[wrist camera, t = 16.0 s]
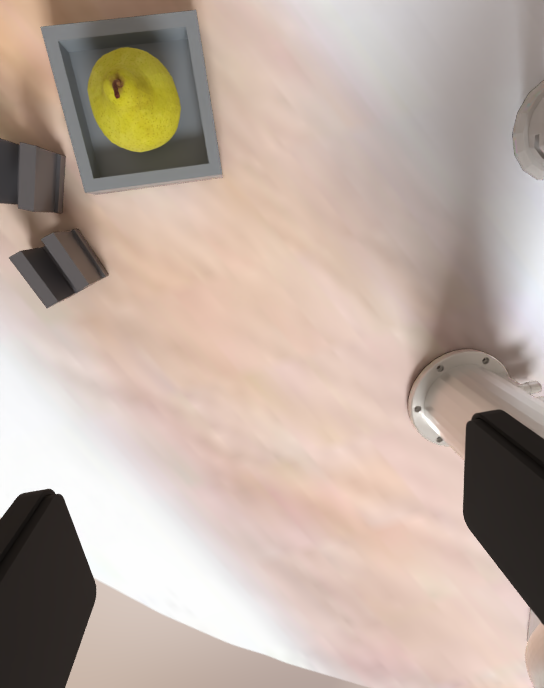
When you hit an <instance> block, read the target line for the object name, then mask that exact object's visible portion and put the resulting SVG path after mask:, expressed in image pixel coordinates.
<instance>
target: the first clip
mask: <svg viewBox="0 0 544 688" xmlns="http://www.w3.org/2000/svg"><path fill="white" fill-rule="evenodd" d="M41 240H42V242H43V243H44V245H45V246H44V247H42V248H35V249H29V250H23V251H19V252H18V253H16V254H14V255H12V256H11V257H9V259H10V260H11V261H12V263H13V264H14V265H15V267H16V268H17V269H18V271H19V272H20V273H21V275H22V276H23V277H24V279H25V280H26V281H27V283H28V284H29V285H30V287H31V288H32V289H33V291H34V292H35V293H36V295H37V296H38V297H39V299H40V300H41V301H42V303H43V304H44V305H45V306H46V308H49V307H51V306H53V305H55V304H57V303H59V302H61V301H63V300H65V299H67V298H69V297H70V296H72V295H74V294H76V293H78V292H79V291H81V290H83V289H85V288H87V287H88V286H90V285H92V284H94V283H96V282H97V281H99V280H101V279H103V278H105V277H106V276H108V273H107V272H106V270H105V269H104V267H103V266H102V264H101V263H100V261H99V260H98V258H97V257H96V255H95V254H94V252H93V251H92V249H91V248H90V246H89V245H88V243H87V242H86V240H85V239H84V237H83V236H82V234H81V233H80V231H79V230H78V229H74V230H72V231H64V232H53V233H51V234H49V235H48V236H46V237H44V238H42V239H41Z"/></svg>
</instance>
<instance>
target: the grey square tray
mask: <svg viewBox="0 0 544 688" xmlns="http://www.w3.org/2000/svg"><path fill="white" fill-rule="evenodd" d="M41 31H42V34H43V38H44V42H45V45H46V49H47V53H48V57H49V60H50V64H51V68H52V72H53V75H54V79H55V83H56V86H57V90H58V94H59V98H60V101H61V105H62V109H63V112H64V116H65V120H66V124H67V127H68V131H69V135H70V138H71V142H72V146H73V150H74V153H75V157H76V161H77V164H78V168H79V172H80V176H81V179H82V183H83V187H84V191H85V193H90V194H96V195H97V194H104V193H112V192H119V191H127V190H134V189H142V188H149V187H156V186H164V185H171V184H179V183H186V182H194V181H201V180H209V179H216V178H223V175H222V169H221V163H220V157H219V150H218V144H217V138H216V132H215V125H214V119H213V113H212V107H211V100H210V94H209V88H208V82H207V75H206V69H205V63H204V57H203V51H202V44H201V38H200V32H199V26H198V19H197V13H196V10H192V11H182V12H173V13H164V14H155V15H145V16H136V17H127V18H118V19H108V20H99V21H90V22H81V23H72V24H62V25H53V26H44V27H41ZM124 47H130V48H136V49H140V50H143V51H146V52H148V53H149V54H151V55H152V56H154V57H155V58H157V59H158V60H159V61H160V62H161V63H162V64H163V65H164V67H165V68H166V69H167V70H168V72H169V73H170V75H171V76H172V78H173V81H174V84H175V86H176V89H177V93H178V96H179V99H180V105H181V112H180V119H179V124H178V127H177V130H176V132H175V134H174V135H173V137H172V138H171V139H170V140H169V141H168V142H166V143H165V144H164V145H162V146H160V147H158V148H156V149H153V150H150V151H145V152H134V151H130V150H127V149H124V148H121V147H119V146H117V145H116V144H114V143H112V142H111V141H110V140H109V139H108V138H107V137H106V136H105V135H104V133H103V132H102V130H101V129H100V127H99V126H98V124H97V122H96V120H95V118H94V115H93V112H92V109H91V105H90V101H89V96H88V91H87V88H88V81H89V77H90V74H91V71H92V69H93V67H94V65H95V63H96V62H97V61H98V60H99V59H100V58H101V57H102V56H103V55H105V54H107V53H109V52H111V51H113V50H116V49H119V48H124Z"/></svg>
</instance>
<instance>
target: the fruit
mask: <svg viewBox="0 0 544 688" xmlns="http://www.w3.org/2000/svg"><path fill="white" fill-rule="evenodd" d="M87 91H88V96H89V101H90V105H91V109H92V112H93V115H94V118H95V120H96V122H97V124H98V126H99V127H100V129H101V130H102V132H103V133H104V135H105V136H106V137H107V138H108V139H109V140H110V141H111V142H112V143H114V144H116V145H117V146H119V147H121V148H124V149H127V150H130V151H134V152H145V151H150V150H153V149H156V148H158V147H160V146H162V145H164V144H165V143H166V142H168V141H169V140H170V139H171V138H172V137H173V135H174V134H175V132H176V130H177V127H178V124H179V119H180V112H181V105H180V99H179V96H178V93H177V89H176V86H175V84H174V81H173V78H172V76H171V75H170V73H169V72H168V70H167V69H166V68H165V67H164V65H163V64H162V63H161V62H160V61H159V60H158V59H157V58H155V57H154V56H152V55H151V54H149V53H148V52H146V51H143V50H140V49H136V48H130V47H124V48H119V49H116V50H113V51H111V52H109V53H107V54H105V55H103V56H102V57H101V58H100V59H99V60H98V61H97V62H96V63H95V65H94V67H93V69H92V71H91V74H90V77H89V81H88V88H87Z"/></svg>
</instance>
